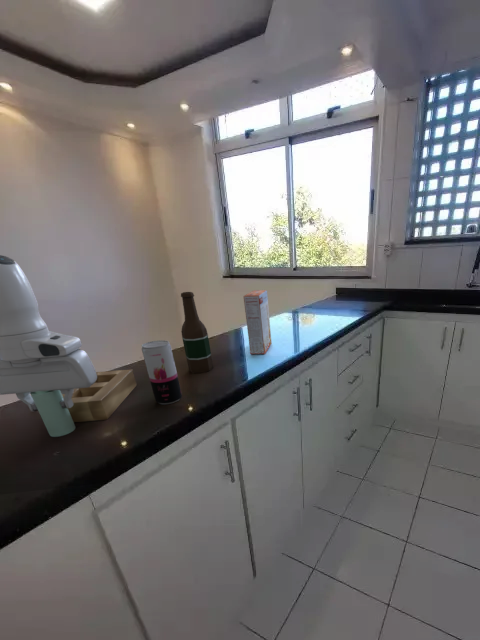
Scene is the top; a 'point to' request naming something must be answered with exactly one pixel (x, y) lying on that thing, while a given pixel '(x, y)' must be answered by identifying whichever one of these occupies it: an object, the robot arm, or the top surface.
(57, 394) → the bottle
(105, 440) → the top surface
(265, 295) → the cracker box
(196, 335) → the beer bottle
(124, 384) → the bottle stand
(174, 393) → the beverage can
